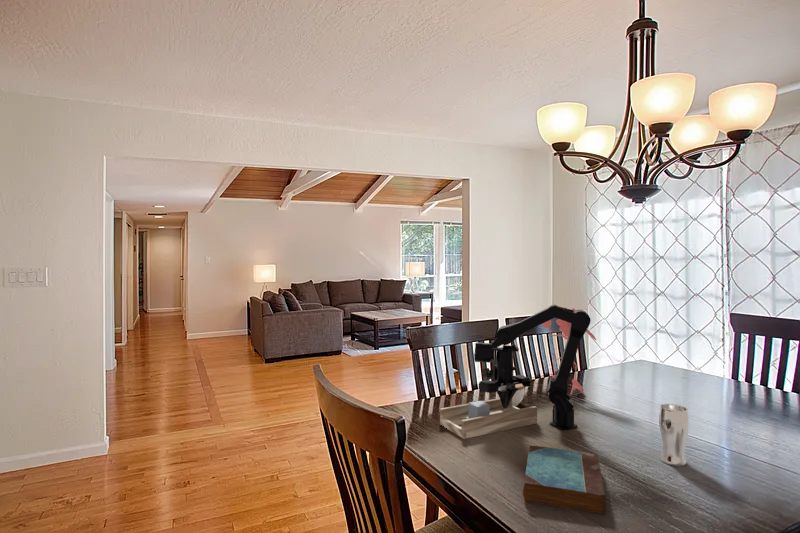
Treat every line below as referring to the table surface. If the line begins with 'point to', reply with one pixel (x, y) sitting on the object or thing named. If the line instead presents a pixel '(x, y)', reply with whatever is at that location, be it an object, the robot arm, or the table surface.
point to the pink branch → (565, 330)
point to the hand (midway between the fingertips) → (505, 408)
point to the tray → (486, 419)
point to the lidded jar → (517, 395)
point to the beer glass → (673, 433)
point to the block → (478, 409)
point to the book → (564, 479)
